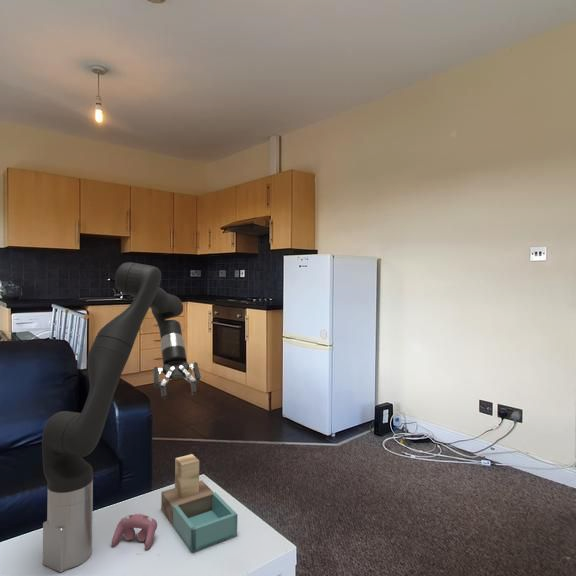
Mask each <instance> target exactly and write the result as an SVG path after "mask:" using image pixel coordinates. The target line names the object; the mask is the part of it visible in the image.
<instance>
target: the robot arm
mask: <svg viewBox="0 0 576 576" xmlns="http://www.w3.org/2000/svg"><path fill="white" fill-rule="evenodd" d="M161 281H162V272H161V269H159V267H156V266H154V265H149V264H142V263H137V262H130V261H129V262H124V263H122V264H121V265H119V267H118V268H117V269H116V273H115V276H114V282H115V287H116V289H117V290H118V292H120V293H122V294H124V295H127V296H131V297H132V298H133V300H132V302H131V303H130V304H129V306H128V307H127V308H126V309H125V310H124V311H122V312H121V313H120V314H119V315H117V316H116V317H114V318H113V319H112V320H110V321H109V322H107V323H106V324H105V325H103V327H102V328H100V329H99V331H98V333H97V335H96V336H95V338H94V340H93V342H92V345H91V346H90V349H89V351H88V355H87V359H86V360H87V371H88V378H89V389H88V390H89V391H88V395H87V398H86V400H85V403H84V406H83V408H82V410H81V412H76V411H75V412H74V411H68V410H63V411H58V412H56V413H54V414H52V415H51V417H49V419H48V420H47V421H46V424H45V425H44V428H43V432H42V437H41V438H42V439H41V440H42V441H41V451H42V454H41V455H42V466H43V467H42V468H43V474H44V477H45V478H44V479H45V480H46V482H47V503H46V504H47V509H46V510H47V511H46V513H47V514H46V515H47V516H46V518H47V519H46V521H44V522H43V523H42V565H44V566H46V567H48V568H50V569H51V570H55V571H56V572H59V573H63V572H64V571H66V570H69V569H72V568H75V567H77V566H80V565H82V564H83V563H84V562H86V561H88V559H89V558H90V557H91V555H92V553H93V515H94V514H93V511H94V510H93V508H94V506H93V505H94V503H93V502H94V501H93V500H94V497H93V495H94V492H93V491H94V490H93V489H94V487H93V485H94V475H93V474H94V470H93V466H92V465H91V464H90V463H89V462H87V460H85V459H84V458H85V457H86V456H88V455H90V454H91V453H92V452H93V451H94V450H95V448H96V447H97V446H98V444H99V441H100V439H101V438H102V434H103V431H104V428H105V425H106V421H107V418H108V415H109V411H110V408H111V405H112V400H113V397H114V395H115V392H116V391H117V387H118V384H119V382H120V379H121V376H122V373H123V371H124V368H125V367H126V365H127V363H128V360H129V358H130V355H131V353H132V350H133V347H134V344H135V342H136V340H137V336H138V334H139V331H140V328H141V327H142V324H143V322H144V319H145V317H146V315H147V313H148V311H149V309H151V313H152V315H153V317H154V319H155V321H156V323H157V325H158V328H159V329H158V330H159V337H160V353H161V358H162V367H158V366H154V368H153V387H154V388H159V389H160V393H161V395H160V396H161V398H163V400H167V399H168V393H167V384H168V383H169V381H170V380H171V381H176V380H182V379H184V380H185V381H187V382H188V383H189V384H190V385H189V386H190V391H191V396H195V394H196V393H197V389H198V388H197V384H196V383H199V382H200V380H201V372H200V369H199V365H198V362H196V361H194V363H191V364H189V363H188V361H187V354H186V348H185V347H186V346H185V342H184V338H183V333H182V326H181V323H180V322H179V321H178V320H175V319H173V318H176V317H178V316H181V314H183V311H184V305H183V304H184V303H183V302H182V300H181V299H180V298H179V297H178V296H177V295H174V294H170V293H167V291H165V290H164V289H163V288H162V287H161V286H160V285H161ZM189 369H190V370H191V371H192V372H193V374H194V376H193V375H192V374H191V372H189ZM161 373H163V374H164V375H165V376H164V378H163V379H162V381H159V376H160V375H161Z"/></svg>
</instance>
